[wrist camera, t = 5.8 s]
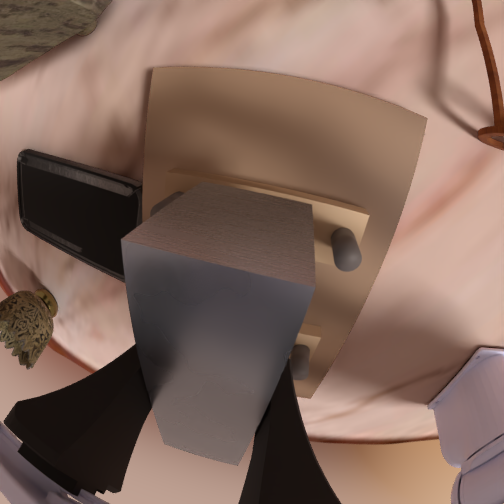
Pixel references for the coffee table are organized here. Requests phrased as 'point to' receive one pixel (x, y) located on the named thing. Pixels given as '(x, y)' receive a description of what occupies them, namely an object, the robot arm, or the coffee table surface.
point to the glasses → (490, 82)
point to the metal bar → (218, 310)
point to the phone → (78, 208)
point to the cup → (27, 324)
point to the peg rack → (291, 175)
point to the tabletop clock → (41, 27)
